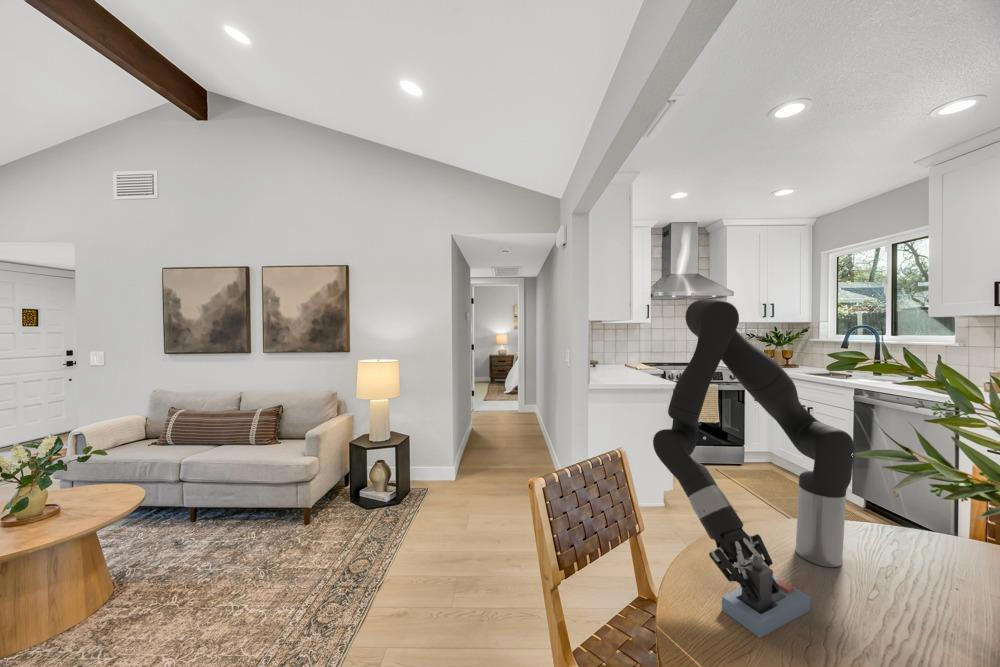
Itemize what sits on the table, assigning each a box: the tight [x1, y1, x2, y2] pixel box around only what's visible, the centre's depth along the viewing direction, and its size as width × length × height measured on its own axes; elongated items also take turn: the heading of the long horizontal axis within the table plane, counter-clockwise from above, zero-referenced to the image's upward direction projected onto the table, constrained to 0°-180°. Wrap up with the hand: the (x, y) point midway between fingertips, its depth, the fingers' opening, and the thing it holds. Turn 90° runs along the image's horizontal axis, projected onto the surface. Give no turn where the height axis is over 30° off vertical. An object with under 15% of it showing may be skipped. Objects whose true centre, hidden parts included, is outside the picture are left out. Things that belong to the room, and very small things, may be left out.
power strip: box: [721, 574, 812, 639], centre depth 86 cm, size 16×8×4 cm, turn 115°
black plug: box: [741, 556, 774, 614], centre depth 85 cm, size 4×4×12 cm
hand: (766, 596), depth 83 cm, fingers open, 5 cm apart
